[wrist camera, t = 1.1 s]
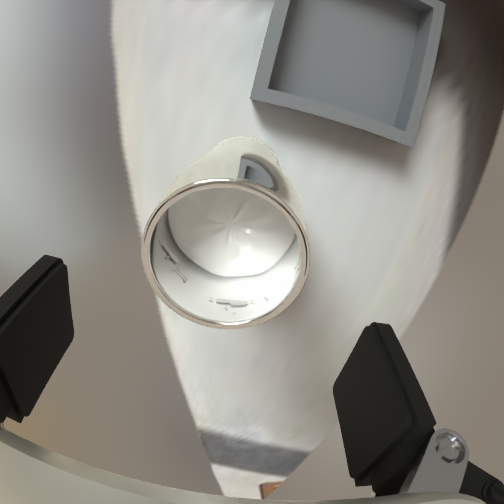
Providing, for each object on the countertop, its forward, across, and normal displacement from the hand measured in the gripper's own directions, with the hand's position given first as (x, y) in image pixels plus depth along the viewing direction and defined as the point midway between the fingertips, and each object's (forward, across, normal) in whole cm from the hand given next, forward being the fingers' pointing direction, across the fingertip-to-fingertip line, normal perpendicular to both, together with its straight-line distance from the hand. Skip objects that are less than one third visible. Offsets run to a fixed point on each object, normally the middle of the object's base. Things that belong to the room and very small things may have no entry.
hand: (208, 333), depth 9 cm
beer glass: (+19, 0, -1) cm, 19 cm away
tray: (+18, -6, -13) cm, 23 cm away
